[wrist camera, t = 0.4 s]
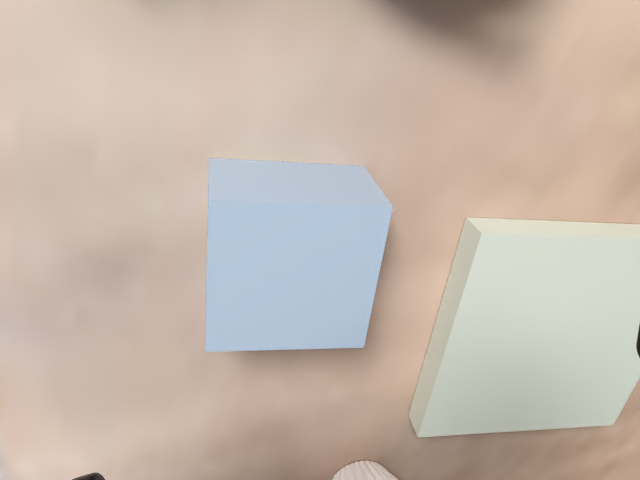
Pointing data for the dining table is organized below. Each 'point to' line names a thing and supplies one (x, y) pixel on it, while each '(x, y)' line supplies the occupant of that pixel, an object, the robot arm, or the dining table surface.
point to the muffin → (363, 472)
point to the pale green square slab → (533, 329)
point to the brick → (291, 254)
